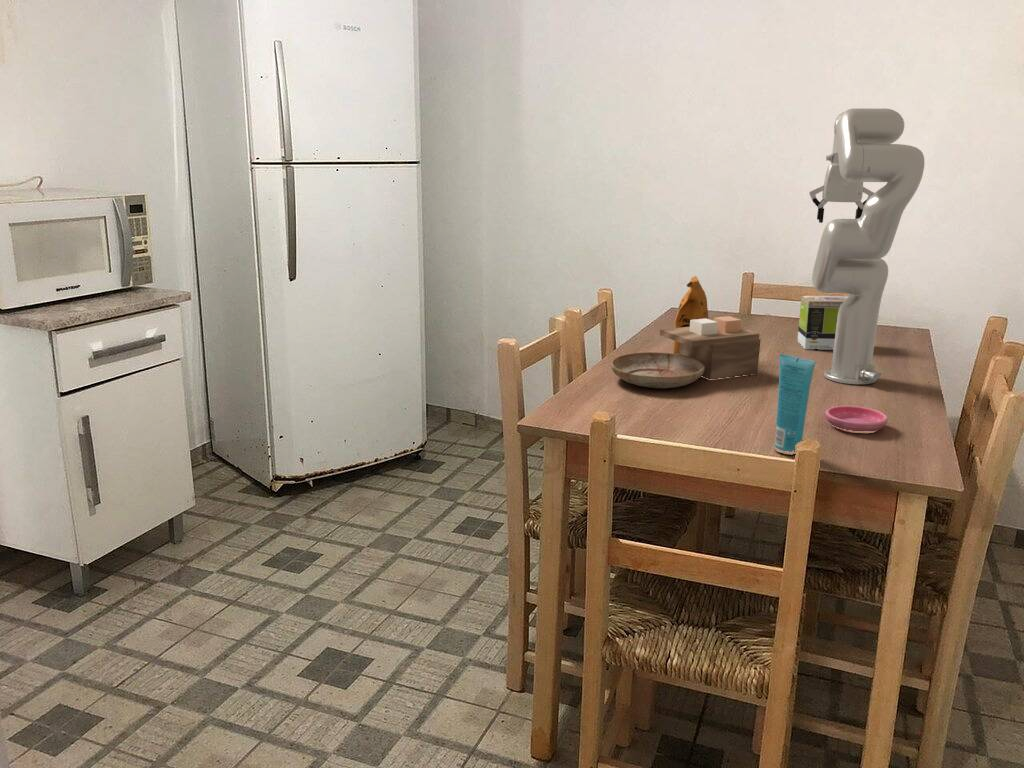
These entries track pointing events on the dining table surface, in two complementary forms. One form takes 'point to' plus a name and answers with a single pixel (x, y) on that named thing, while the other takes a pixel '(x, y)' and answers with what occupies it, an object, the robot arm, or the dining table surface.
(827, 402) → the dining table surface
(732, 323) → the peach clay cube
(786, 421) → the tube
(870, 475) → the dining table surface
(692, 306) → the coffee package
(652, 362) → the ceramic bowl
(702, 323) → the white square block
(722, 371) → the wooden box
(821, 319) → the tea box
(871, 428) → the saucer
